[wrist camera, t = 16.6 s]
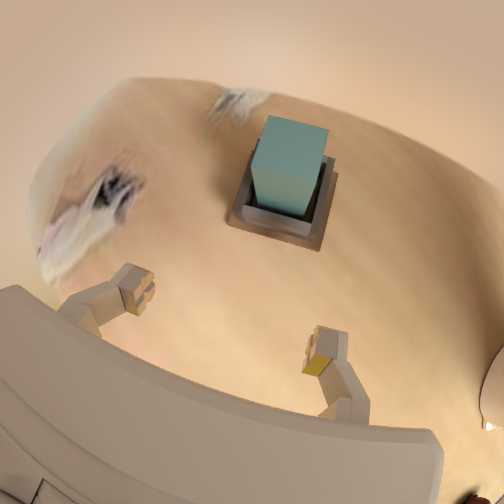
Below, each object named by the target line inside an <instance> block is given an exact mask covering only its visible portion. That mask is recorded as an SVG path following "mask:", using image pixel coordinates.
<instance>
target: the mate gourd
mask: <svg viewBox="0 0 504 504" xmlns="http://www.w3.org/2000/svg"><path fill="white" fill-rule="evenodd" d="M463 504H491V503H490V501H489V500H488V499H486V498H482V497H478V495H476V496H474V497H473V496H472V494H469V495H468V497H467V500H466V502H464V503H463Z"/></svg>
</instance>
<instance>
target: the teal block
mask: <svg viewBox="0 0 504 504" xmlns="http://www.w3.org/2000/svg"><path fill="white" fill-rule="evenodd" d="M328 132H329V130H326V129H322V128H319V127H315V126H312V125H308V124H304V123H300V122H296V121H292V120H288V119H284V118H279V117H275V116H270V115H269V116H268V119H267V122H266V124H265V127H264V130H263V133H262V136H261V138H260V141H259V144H258V147H257V150H256V153H255V155H254V158H253V161H252V164H251V170H252V176H253V181H254V186H255V191H256V197H257V202H258V207H259V209H261V210H265V211H269V212H272V213H276V214H279V215H283V216H286V217H290V218H293V219H297V220H300V221H302V218H303V216H304V213H305V211H306V208H307V206H308V203H309V201H310V198H311V196H312V193H313V190H314V188H315V185H316V182H317V178H318V174H319V170H320V166H321V162H322V158H323V153H324V149H325V145H326V141H327V136H328Z"/></svg>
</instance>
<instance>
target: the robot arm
mask: <svg viewBox="0 0 504 504" xmlns="http://www.w3.org/2000/svg"><path fill="white" fill-rule="evenodd" d="M153 279H154V274H153V272H151V271H148V270H146V269H143V268H141V267H138V266H136V265H133V264H131V263H125V264H124V265H123V266H122V268H121V269H120V270H119V271H118V272H117V273H116V274H115V275H114V277H113V278H112V279H111V280H110V281H109V282H107V281H106V282H103V283H101V284H98V285H96V286H93V287H91V288H88V289H86V290H83V291H81V292H78V293H76V294H73V295H71V296H69V298H68V299H67V300H66V301H65V302H64V303H63V305H62V306H61V307H60V308H59V309H58V311H55V310H54V309H52V308H51V307H49V306H48V305H46V304H45V303H44V302H42V301H41V300H39V299H38V298H37V297H35V296H34V295H32V294H31V293H30V292H28V291H27V290H26V289H24V288H23V287H22V286H20V285H12V286H9V287H6V288H4V289H1V290H0V504H437V503H438V499H439V494H440V489H441V483H442V477H443V468H444V451H443V449H442V447H441V445H440V443H439V441H438V440H437V438H436V436H435V435H434V433H433V432H432V431H431V430H430V429H425V428H400V427H386V426H376V425H369V414H370V399H369V398H368V396H367V394H366V392H365V390H364V388H363V386H362V384H361V383H360V381H359V379H358V377H357V375H356V373H355V372H354V370H353V368H352V366H351V364H350V363H349V362H347V353H348V333H346V332H343V331H339V330H336V329H332V328H328V327H324V326H320V325H317V326H316V328H315V329H314V334H312V335H311V336H310V338H309V341H308V343H307V347H306V351H305V354H306V358H305V360H304V362H303V367H302V373H305V374H309V375H313V376H316V377H318V380H319V382H320V385H321V388H322V390H323V393H324V396H325V399H326V401H327V404H328V408H327V409H325V410H324V411H323V412H322V413H320V414H319V415H318V417H315V416H310V415H305V414H300V413H296V412H292V411H287V410H283V409H279V408H275V407H271V406H268V405H264V404H260V403H257V402H253V401H250V400H247V399H243V398H240V397H237V396H234V395H231V394H227V393H224V392H222V391H219V390H216V389H213V388H210V387H207V386H205V385H202V384H199V383H196V382H194V381H191V380H189V379H186V378H184V377H181V376H179V375H176V374H174V373H171V372H169V371H167V370H164V369H162V368H160V367H158V366H155V365H153V364H151V363H149V362H147V361H145V360H142V359H140V358H138V357H136V356H134V355H132V354H130V353H128V352H126V351H124V350H122V349H120V348H118V347H116V346H114V345H112V344H111V343H109V342H107V341H105V340H103V339H101V337H102V335H101V333H100V331H99V328H98V327H100V326H101V325H103V324H105V323H107V322H108V321H110V320H112V319H114V318H116V317H117V316H119V315H121V314H123V313H124V312H126V311H127V312H130V313H132V314H134V315H137V316H140V315H141V314H142V312H143V311H144V309H145V308H146V304H145V303H147V302H149V301H151V299H152V298H153V296H154V293H155V283H154V282H153ZM480 410H481V413H482V415H483V419H484V420H483V429H484V430H486V431H489V430H491V429H494V428H496V427H498V428H500V429H503V430H504V347H503V348H502V349H501V351H500V352H499V353H498V355H497V356H496V358H495V359H494V361H493V363H492V365H491V367H490V369H489V371H488V373H487V376H486V378H485V381H484V384H483V388H482V392H481V397H480Z"/></svg>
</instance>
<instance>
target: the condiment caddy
mask: <svg viewBox="0 0 504 504" xmlns="http://www.w3.org/2000/svg"><path fill="white" fill-rule="evenodd" d="M259 141H260V139H258V141H257V144H256V147H255V149H254V150H253V151H252V154H251V157H250V159H249V162H248V165H247V168H246V171H245V174H244V177H243V179H242V182H241V185H240V188H239V191H238V194H237V197H236V200H235V203H234V206H233V209H232V212H231V215H230V218H229V221H228V225H229V226H231V227H235V228H239V229H242V230H246V231H249V232H253V233H256V234H260V235H263V236H267V237H270V238H273V239H277V240H280V241H284V242H287V243H291V244H294V245H297V246H301V247H304V248H307V249H311V250H314V251H317V252H319V251H320V248H321V244H322V240H323V236H324V232H325V228H326V224H327V220H328V216H329V212H330V208H331V204H332V199H333V195H334V191H335V186H336V181H337V177H338V173H336V172H333V167H334V163H335V159H334V158H331V157H327V156H324V155H323V158H322V162H321V166H320V170H319V174H318V178H317V182H316V185H315V188H314V190H313V193H312V196H311V198H310V201H309V203H308V206H307V208H306V211H305V213H304V216H303V218H302V221H300V220H297V219H293V218H290V217H286V216H283V215H279V214H276V213H272V212H269V211H265V210H261V209H259V207H258V202H257V197H256V191H255V186H254V181H253V176H252V170H251V164H252V161H253V158H254V155H255V153H256V150H257V147H258V144H259Z"/></svg>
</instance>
